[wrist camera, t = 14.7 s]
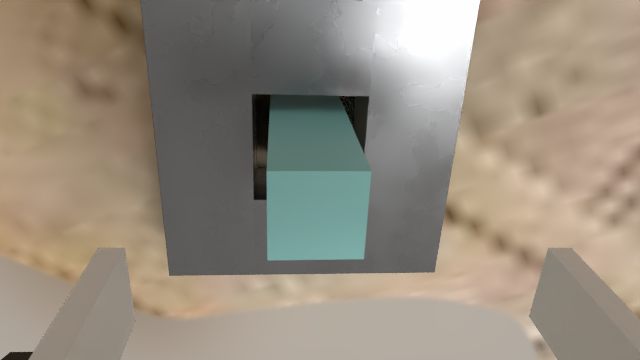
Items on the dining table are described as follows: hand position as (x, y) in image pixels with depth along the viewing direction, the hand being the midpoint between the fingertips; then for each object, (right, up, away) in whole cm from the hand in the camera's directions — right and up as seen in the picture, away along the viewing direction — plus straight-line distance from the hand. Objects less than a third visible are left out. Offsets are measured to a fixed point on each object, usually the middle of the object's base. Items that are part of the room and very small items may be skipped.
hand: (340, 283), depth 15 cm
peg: (-2, +7, +15) cm, 16 cm away
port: (-2, +7, +15) cm, 16 cm away
